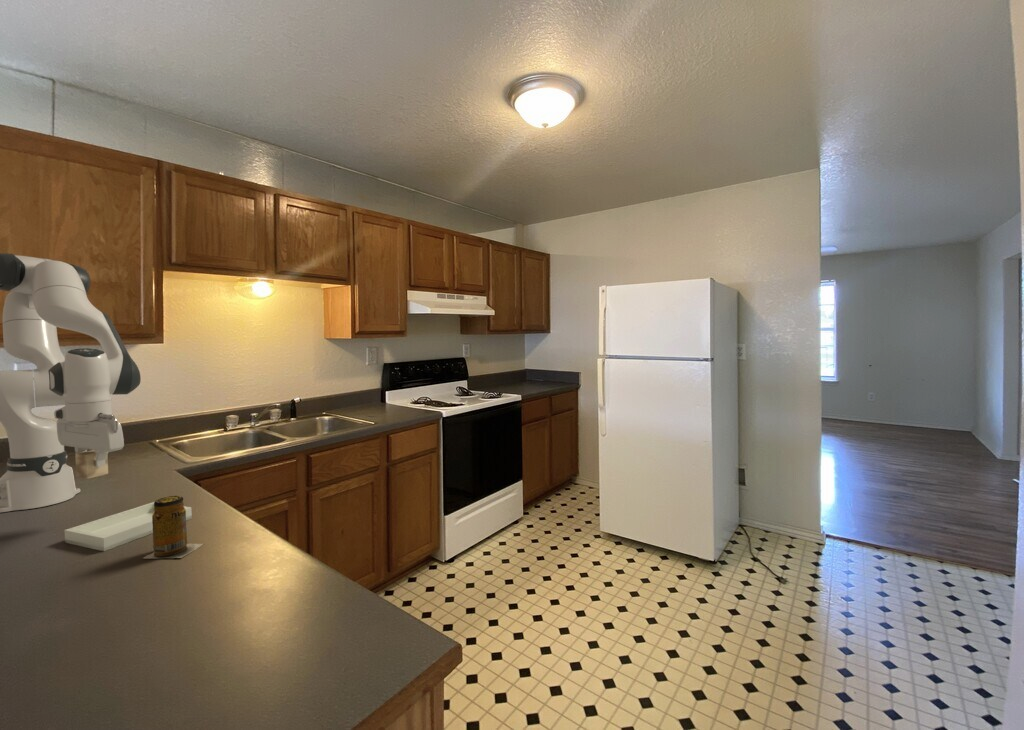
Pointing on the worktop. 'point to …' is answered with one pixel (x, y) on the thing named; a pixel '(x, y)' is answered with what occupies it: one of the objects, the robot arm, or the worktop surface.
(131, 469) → the worktop surface
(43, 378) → the robot arm
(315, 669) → the worktop surface
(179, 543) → the condiment
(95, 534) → the shallow rimmed tray
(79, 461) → the birch block
